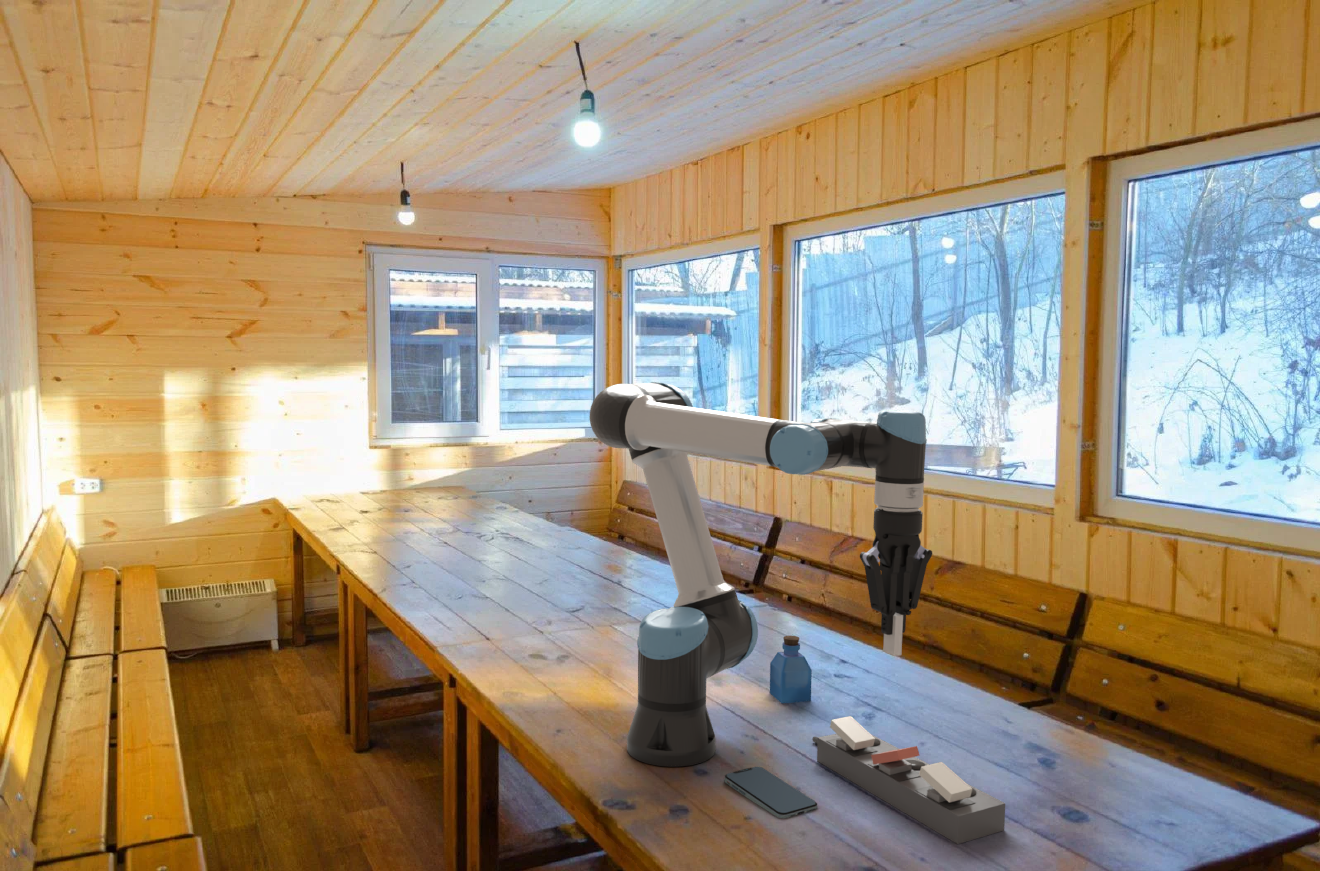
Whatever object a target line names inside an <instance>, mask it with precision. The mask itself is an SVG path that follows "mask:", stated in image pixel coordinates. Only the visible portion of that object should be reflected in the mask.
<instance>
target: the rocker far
mask: <svg viewBox="0 0 1320 871" xmlns="http://www.w3.org/2000/svg"><path fill="white" fill-rule="evenodd" d="M829 728H830V729H831V730H832V731H833V732H834V734H838V735H839V736H840V737H841V738H842V739H843V740H844V741H845V742H846V743H847V744H848V745H849V746H850V747H851V748H852V749H853V750H857V749H861V748H866V747H870V746H873V745H874V741H875V738H874V737H873V736H874V735H873V734H872V733H870V732H869V731H868V730H866V728H864V727H863V726H862V725H861V723H859V722H858V721H857V720H856V719H855V718H853V717H852V716H851V715H849V716H845V717H840V718H839V717H838V718H835V719H831V721H830V726H829ZM871 734H872V735H873V736H872V735H871Z"/></svg>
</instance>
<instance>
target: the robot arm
mask: <svg viewBox="0 0 1320 871" xmlns="http://www.w3.org/2000/svg"><path fill="white" fill-rule="evenodd" d="M591 403H592V404H591V406H590V409H589V423H590V427H591V430H592V432H593V434H594V435H595V437H596V438H597V439H598V441H600V443H603V444H604V445H606V446H608V447H611V448H613V449H614V448H615V449H628V451H629V455H630V458H631V462H632V464H634V465H636V466H638V467H640V468H641V469H642V471H643V474H644V478H645V482H646V485H647V488H648V492H649V495H650V499H651V502H652V505H653V509H654V512H655V516H656V520H657V523H658V526H659V530H660V534H661V538H662V541H663V544H664V548H665V551H666V554H667V559H668V562H669V564H670V569H671V573H672V574H673V579H674V582H675V586H676V589H677V593H678V595H677V598H676V600H675V601H674V603H673V606H671V607H669V608H660V609H657V610H654V611H651V612H650V613H648V614H647V615H645V616H644V617H643V618H642V619H641V621H640V624H639V627H638V636H637V642H636V644H637V654H638V655H637V706H636V709H635V712H634V714H633V718H632V721H631V724H630V727H629V730H628V733H627V737H626V751H627V753H628V755H629V756H631V757H632V758H634V759H635V760H637V761H639V762H642V763H644V764H647V765H648V764H649V765H653V766H659V767H668V768H669V767H675V768H677V767H688V766H694V765H698V764H701V763H704V762H706V761H708V760H709V759H711V758H712V757H714V755H715V754H716V750H717V749H716V748H717V746H716V745H717V744H716V743H717V741H716V734H715V732H714V727H713V725H712V724H713V723H712V722H711V717H710V715H709V711H708V709H707V679H708V678H710V677H713V676H714V675H717V674H718V673H720V672H722V671H723V672H724V670H727V669H732V668H734V667H736V666H737V665H739V664H741V663H742V662H744V661H745V660H746V659H747V658H749V656H751V654H752V653H753V651H754V648H755V647H756V645H757V642H758V638H759V628H758V622H757V618H756V616H755V613H754V612H753V610H752V609H751V607H750V606H748V605H746V604H745V602H744V601H742V600H739V598H738V594H737V592H736V588H735V586H733V585H731V584H729V583H727V582H726V581H725V580H724V577H723V574H722V570H721V567H720V564H719V559H718V557H717V554H716V553H717V552H716V549H715V546H714V542H713V540H712V539H713V538H712V537H711V532H710V530H709V525H708V522H707V520H706V516H705V512H704V509H703V505H702V502H701V499H700V495H699V491H698V489H697V485H696V482H695V481H696V480H695V477H694V475H693V471H692V468H691V464H690V461H689V458H688V456H689V453H690V454H697V455H702V456H706V457H707V456H708V457H713V458H720V459H726V460H731V461H737V462H738V461H739V462H744V463H750V464H756V465H763V466H769V467H774V468H777V469H779V470H780V471H782V472H784V473H785V474H789V475H808V474H811V473H814V472H819V471H824V470H829V469H835V468H840V467H852V468H853V467H854V468H865V469H875V477H874V478H875V481H874V500H873V504H874V505H876V506H877V507H875V509H874V510H873V530H874V533H875V536H874V539H873V542H872V547H871V548H870V549H869V550H868V551H866V552H865V551H861V552H860V554H859V559H860V561H861V562H862V564H863V566H864V571H865V576H866V577H865V578H866V583H867V590H868V596H869V601H870V607H871V609H872V610H875V611H876V612H880V614H881V619H880V620H881V626H880V630H881V633H882V634H883V645H882V646H883V648H882V652H884V653H886V654H889V655H891V656H892V657H898V656H902V650H903V649H902V648H903V647H902V646H903V645H902V644H903V634H904V633H905V631H906V628H907V627H906V624H907V622H906V620H907V616H910V615H911V614H912V610H915V609H917V608H918V604H919V599H920V596H921V591H922V587H923V583H924V578H925V575H926V570H927V567H928V564H929V561H930V559H931V557H932V556H933V551H932V549H928V548H925V547H924V546H923V545H922V544H921V539H920V534H921V533H922V530H923V516H924V515H923V512H922V510H921V508H922V507H923V504H924V486H925V485H924V484H925V483H924V481H925V478H924V476H925V466H926V465H925V464H926V463H925V462H926V449H927V448H926V445H927V441H928V440H927V430H926V429H927V424H926V423H927V422H926V420H927V419H926V416H925V415H924V414H923V413H922V412H920V411H914V410H899V409H897V410H893V409H892V410H891V409H890V410H889V409H888V410H887V409H886V410H880V411H879V412H878V414H877V419H876V421H861V420H851V419H837V418H832V417H830V418H814V419H812V420H811V421H810V422H802V421H793V420H785V419H784V420H783V419H777V418H771V417H770V418H769V417H764V416H757V415H749V414H742V413H734V412H727V411H721V410H713V409H705V408H700V407H694V406H693V403H692V401H691V400H690V398H689V397H688V395H687V394H686V393H685V392H684V391H683V390H682V389H681V388H679V387H677V386H676V385H673V384H671V383H663V382H659V381H656V382H655V381H651V382H646V383H617V384H614V385H609V386H608V387H606V388H603V389H602V390H601V391H600V392H598V394H597V395H596V397H595V398H594V399H593V401H592V402H591Z"/></svg>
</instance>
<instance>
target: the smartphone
mask: <svg viewBox="0 0 1320 871" xmlns="http://www.w3.org/2000/svg"><path fill="white" fill-rule="evenodd" d="M724 783H725V784H727V786H729V787H730V788H732V789H733V790H735V791H736V792H738V793H740V794H741V795H742V796H744V797H746V798H747V799H748V800H750V801H751V802H753V803H755V804H756V805H758V806H759V807H761V808H762V809H764V810H766V811H767V812H768V813H770V814H772V815H773V816H775V817H777V818H778V819H779V818H780V819H787V818H791V817H793V816H797V815H801V814H804V813H808V812H811V811H814V810H817V809H818V802H816V801H815V800H814V799H812V798H811V797H809V796H807V795H806V794H805V793H802V792H801V791H799V790H798V789H797V788H795V787H793V786H792V785H790V784H789V783H787V782H785V780H782V779H781V778H780V777H778V776H776V775H775V774H773V773H772V772H770V771H769V770H767V769H766V768H764V767H761V766H753V767H747V768H744V769H740V770H737V771H732V772H728V773H726V774H725V775H724Z"/></svg>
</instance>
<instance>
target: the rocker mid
mask: <svg viewBox="0 0 1320 871" xmlns="http://www.w3.org/2000/svg"><path fill="white" fill-rule="evenodd" d="M871 756H872V760H873V764H879V763H886V762H892V761H898V760H903V759H907V758H911V757H916V758H917V757H919V756H921V755H920V752H919V747H918V746H917V745H916V746H911V747H909V746H908V747H904V748H899V749H898V750H892V751H888V752H883V753H879V754H874V755H871Z"/></svg>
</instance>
